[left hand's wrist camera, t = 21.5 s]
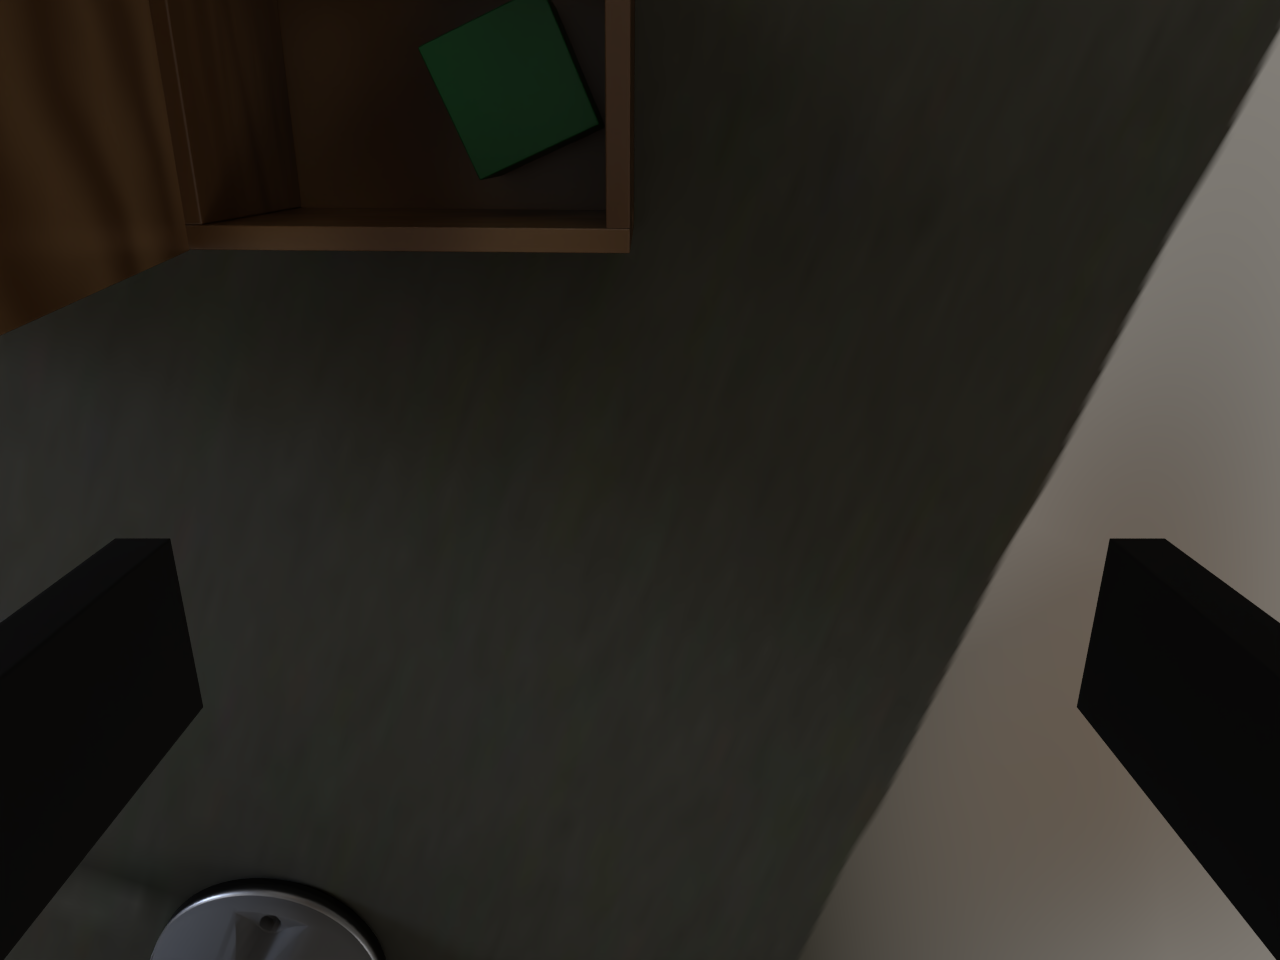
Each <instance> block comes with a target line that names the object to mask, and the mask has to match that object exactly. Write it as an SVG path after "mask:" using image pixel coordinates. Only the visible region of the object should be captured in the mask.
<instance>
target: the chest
mask: <svg viewBox="0 0 1280 960" xmlns="http://www.w3.org/2000/svg"><path fill="white" fill-rule="evenodd" d="M509 1H511V0H149V6H150V12H151V18H152V24H153V30H154V36H155V42H156V48H157V55H158V61H159V67H160V73H161V79H162V85H163V91H164V97H165V103H166V110H167V116H168V122H169V128H170V134H171V140H172V146H173V152H174V158H175V165H176V171H177V177H178V183H179V189H180V195H181V201H182V207H183V213H184V220H185V226H186V232H187V238H188V244H189V249H192V250H312V251H432V252H551V253H629V252H630V247H631V241H632V235H633V229H634V71H635V0H551V1H552V2H553V4H554V5H555V7H556V9H557V12H558V14H559V16H560V19H561V21H562V24H563V26H564V28H565V31H566V33H567V36H568V38H569V40H570V43H571V45H572V48H573V50H574V52H575V55H576V57H577V60H578V62H579V65H580V67H581V69H582V72H583V74H584V77H585V79H586V81H587V84H588V86H589V89H590V91H591V93H592V96H593V98H594V101H595V103H596V105H597V108H598V110H599V113H600V115H601V118H602V120H603V122H604V125H605V127H604V128H602V129H600V130H598V131H596V132H594V133H592V134H590V135H588V136H585V137H583V138H581V139H579V140H577V141H575V142H573V143H570V144H568V145H566V146H564V147H562V148H560V149H558V150H555V151H553V152H551V153H549V154H547V155H545V156H543V157H540V158H538V159H536V160H534V161H532V162H530V163H528V164H526V165H523V166H521V167H519V168H517V169H515V170H513V171H511V172H508V173H506V174H504V175H502V176H498V177H493V178H488V179H483V180H480V179H479V177H478V175H477V173H476V171H475V169H474V167H473V165H472V163H471V160H470V158H469V156H468V154H467V152H466V150H465V148H464V145H463V143H462V141H461V139H460V137H459V135H458V133H457V131H456V128H455V126H454V124H453V122H452V120H451V118H450V116H449V114H448V111H447V109H446V107H445V105H444V103H443V101H442V99H441V96H440V94H439V92H438V90H437V88H436V86H435V84H434V82H433V79H432V77H431V75H430V73H429V71H428V69H427V67H426V64H425V62H424V60H423V58H422V56H421V54H420V52H419V50H418V47H419V46H421V45H423V44H425V43H427V42H429V41H431V40H433V39H435V38H437V37H439V36H441V35H443V34H445V33H447V32H449V31H451V30H453V29H455V28H457V27H459V26H461V25H463V24H465V23H467V22H469V21H471V20H473V19H475V18H477V17H479V16H481V15H483V14H485V13H487V12H489V11H491V10H493V9H495V8H497V7H499V6H501V5H503V4H505V3H507V2H509Z"/></svg>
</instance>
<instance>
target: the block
mask: <svg viewBox="0 0 1280 960" xmlns="http://www.w3.org/2000/svg"><path fill="white" fill-rule="evenodd" d="M418 50H419V52H420V54H421V56H422V58H423V60H424V62H425V64H426V67H427V69H428V71H429V73H430V75H431V77H432V79H433V82H434V84H435V86H436V88H437V90H438V92H439V94H440V96H441V99H442V101H443V103H444V105H445V107H446V109H447V111H448V114H449V116H450V118H451V120H452V122H453V124H454V126H455V128H456V131H457V133H458V135H459V137H460V139H461V141H462V143H463V145H464V148H465V150H466V152H467V154H468V156H469V158H470V160H471V163H472V165H473V167H474V169H475V171H476V173H477V175H478V177H479V179H480V180H483V179H488V178H493V177H498V176H502V175H504V174H506V173H508V172H511V171H513V170H515V169H517V168H519V167H521V166H523V165H526V164H528V163H530V162H532V161H534V160H536V159H538V158H540V157H543V156H545V155H547V154H549V153H551V152H553V151H555V150H558V149H560V148H562V147H564V146H566V145H568V144H570V143H573V142H575V141H577V140H579V139H581V138H583V137H585V136H588V135H590V134H592V133H594V132H596V131H598V130H600V129H602V128H604V127H605V125H604V122H603V120H602V118H601V115H600V113H599V110H598V108H597V105H596V103H595V101H594V98H593V96H592V93H591V91H590V89H589V86H588V84H587V81H586V79H585V77H584V74H583V72H582V69H581V67H580V65H579V62H578V60H577V57H576V55H575V52H574V50H573V48H572V45H571V43H570V40H569V38H568V36H567V33H566V31H565V28H564V26H563V24H562V21H561V19H560V16H559V14H558V12H557V9H556V7H555V5H554V4H553V2H552V1H551V0H511V1H509V2H507V3H505V4H503V5H501V6H499V7H497V8H495V9H493V10H491V11H489V12H487V13H485V14H483V15H481V16H479V17H477V18H475V19H473V20H471V21H469V22H467V23H465V24H463V25H461V26H459V27H457V28H455V29H453V30H451V31H449V32H447V33H445V34H443V35H441V36H439V37H437V38H435V39H433V40H431V41H429V42H427V43H425V44H423V45H421V46H419V47H418Z"/></svg>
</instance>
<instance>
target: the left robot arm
mask: <svg viewBox="0 0 1280 960" xmlns="http://www.w3.org/2000/svg"><path fill="white" fill-rule="evenodd" d="M202 708H203V704H202V699H201V694H200V688H199V683H198V678H197V673H196V668H195V663H194V658H193V653H192V648H191V643H190V637H189V632H188V627H187V622H186V617H185V612H184V607H183V602H182V597H181V592H180V586H179V581H178V576H177V571H176V566H175V561H174V556H173V551H172V546H171V540H170V539H114V540H113V541H111V542H110V543H109V544H107V545H106V546H105V547H103V548H102V549H100V550H99V551H98V552H96V553H95V554H94V555H92V556H91V557H90V558H88V559H87V560H86V561H84V562H83V563H81V564H80V565H79V566H77V567H76V568H75V569H73V570H72V571H71V572H69V573H68V574H66V575H65V576H64V577H62V578H61V579H60V580H58V581H57V582H56V583H54V584H53V585H51V586H50V587H49V588H47V589H46V590H45V591H43V592H42V593H41V594H39V595H38V596H36V597H35V598H34V599H32V600H31V601H30V602H28V603H27V604H26V605H24V606H23V607H21V608H20V609H19V610H17V611H16V612H15V613H13V614H12V615H11V616H9V617H8V618H7V619H5V620H4V621H2V622H1V623H0V960H4V959H5V957H6V956H7V955H8V954H9V952H10V951H11V950H12V948H13V947H14V946H15V945H16V943H17V942H18V941H19V940H20V938H21V937H22V936H23V935H24V933H25V932H26V931H27V929H28V928H29V927H30V926H31V924H32V923H33V922H34V921H35V919H36V918H37V917H38V916H39V914H40V913H41V912H42V910H43V909H44V908H45V907H46V905H47V904H48V903H49V902H50V900H51V899H52V898H53V897H54V895H55V894H56V893H57V891H58V890H59V889H60V888H61V886H62V885H63V884H64V883H65V881H66V880H67V879H68V878H69V876H70V875H71V874H72V872H73V871H74V870H75V869H76V867H77V866H78V865H79V864H80V862H81V861H82V860H83V858H84V857H85V856H86V855H87V853H88V852H89V851H90V850H91V848H92V847H93V846H94V845H95V843H96V842H97V841H98V839H99V838H100V837H101V836H102V834H103V833H104V832H105V831H106V829H107V828H108V827H109V826H110V824H111V823H112V822H113V820H114V819H115V818H116V817H117V815H118V814H119V813H120V812H121V810H122V809H123V808H124V807H125V805H126V804H127V803H128V801H129V800H130V799H131V798H132V796H133V795H134V794H135V793H136V791H137V790H138V789H139V788H140V786H141V785H142V784H143V782H144V781H145V780H146V779H147V777H148V776H149V775H150V774H151V772H152V771H153V770H154V769H155V767H156V766H157V765H158V763H159V762H160V761H161V760H162V758H163V757H164V756H165V755H166V753H167V752H168V751H169V750H170V748H171V747H172V746H173V744H174V743H175V742H176V741H177V739H178V738H179V737H180V736H181V734H182V733H183V732H184V731H185V729H186V728H187V727H188V725H189V724H190V723H191V722H192V720H193V719H194V718H195V717H196V715H197V714H198V713H199V712H200V710H201V709H202ZM1077 708H1078V709H1079V710H1080V712H1081V713H1082V714H1083V715H1084V717H1085V718H1086V719H1087V720H1088V722H1089V723H1090V724H1091V725H1092V727H1093V728H1094V729H1095V731H1096V732H1097V733H1098V734H1099V736H1100V737H1101V738H1102V739H1103V741H1104V742H1105V743H1106V744H1107V746H1108V747H1109V748H1110V750H1111V751H1112V752H1113V753H1114V755H1115V756H1116V757H1117V758H1118V760H1119V761H1120V762H1121V763H1122V765H1123V766H1124V767H1125V769H1126V770H1127V771H1128V772H1129V774H1130V775H1131V776H1132V777H1133V779H1134V780H1135V781H1136V782H1137V784H1138V785H1139V786H1140V787H1141V789H1142V790H1143V791H1144V793H1145V794H1146V795H1147V796H1148V798H1149V799H1150V800H1151V801H1152V803H1153V804H1154V805H1155V807H1156V808H1157V809H1158V810H1159V812H1160V813H1161V814H1162V815H1163V817H1164V818H1165V819H1166V820H1167V822H1168V823H1169V824H1170V826H1171V827H1172V828H1173V829H1174V831H1175V832H1176V833H1177V834H1178V836H1179V837H1180V838H1181V839H1182V841H1183V842H1184V843H1185V845H1186V846H1187V847H1188V848H1189V850H1190V851H1191V852H1192V853H1193V855H1194V856H1195V857H1196V858H1197V860H1198V861H1199V862H1200V864H1201V865H1202V866H1203V867H1204V869H1205V870H1206V871H1207V872H1208V874H1209V875H1210V876H1211V878H1212V879H1213V880H1214V881H1215V882H1216V884H1217V885H1218V886H1219V888H1220V889H1221V890H1222V891H1223V893H1224V894H1225V895H1226V897H1227V898H1228V899H1229V900H1230V902H1231V903H1232V904H1233V905H1234V907H1235V908H1236V909H1237V910H1238V912H1239V913H1240V914H1241V916H1242V917H1243V918H1244V919H1245V920H1246V922H1247V923H1248V924H1249V926H1250V927H1251V928H1252V929H1253V931H1254V932H1255V933H1256V935H1257V936H1258V937H1259V938H1260V940H1261V941H1262V942H1263V943H1264V945H1265V946H1266V947H1267V948H1268V950H1269V951H1270V952H1271V953H1272V955H1273V956H1274V957H1275V959H1276V960H1280V623H1279V622H1278V621H1276V620H1275V619H1273V618H1272V617H1271V616H1269V615H1268V614H1267V613H1265V612H1264V611H1263V610H1261V609H1260V608H1259V607H1257V606H1256V605H1254V604H1253V603H1252V602H1250V601H1249V600H1248V599H1246V598H1245V597H1244V596H1242V595H1241V594H1239V593H1238V592H1237V591H1235V590H1234V589H1233V588H1231V587H1230V586H1229V585H1227V584H1226V583H1224V582H1223V581H1222V580H1220V579H1219V578H1218V577H1216V576H1215V575H1214V574H1212V573H1211V572H1209V571H1208V570H1207V569H1205V568H1204V567H1203V566H1201V565H1200V564H1199V563H1197V562H1196V561H1194V560H1193V559H1192V558H1190V557H1189V556H1188V555H1186V554H1185V553H1184V552H1182V551H1181V550H1180V549H1178V548H1177V547H1175V546H1174V545H1173V544H1171V543H1170V542H1169V541H1167V540H1166V539H1110V540H1109V546H1108V551H1107V556H1106V561H1105V566H1104V571H1103V576H1102V582H1101V586H1100V591H1099V597H1098V602H1097V607H1096V612H1095V617H1094V622H1093V627H1092V632H1091V638H1090V643H1089V648H1088V653H1087V658H1086V663H1085V668H1084V673H1083V678H1082V684H1081V689H1080V694H1079V699H1078V704H1077ZM150 960H385V956H384V953H383V950H382V948H381V945H380V943H379V942H378V940H377V938H376V936H375V935H374V933H373V932H372V930H371V929H370V928H369V927H368V926H367V924H366V923H365V922H364V921H363V920H362V919H361V918H360V917H359V916H358V915H357V914H356V913H354V912H353V911H352V910H351V909H350V908H348V907H347V906H345V905H344V904H342V903H341V902H339V901H338V900H336V899H334V898H333V897H331V896H329V895H327V894H325V893H323V892H320V891H318V890H315V889H313V888H310V887H307V886H304V885H301V884H297V883H293V882H289V881H283V880H277V879H265V878H251V879H239V880H233V881H228V882H224V883H220V884H217V885H214V886H211V887H209V888H207V889H204V890H202V891H200V892H199V893H197V894H195V895H193V896H192V897H191V898H189V899H188V900H187V901H185V902H184V903H183V904H182V905H181V906H180V907H179V908H178V909H177V910H176V912H175V913H174V914H173V916H172V917H171V919H170V920H169V922H168V924H167V925H166V927H165V929H164V930H163V932H162V933H161V935H160V937H159V938H158V941H157V943H156V945H155V948H154V951H153V953H152V955H151V958H150Z"/></svg>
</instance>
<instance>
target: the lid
mask: <svg viewBox="0 0 1280 960" xmlns="http://www.w3.org/2000/svg"><path fill="white" fill-rule="evenodd" d="M187 251H189V244H188V238H187V232H186V226H185V220H184V213H183V207H182V201H181V195H180V189H179V183H178V177H177V171H176V165H175V158H174V152H173V146H172V140H171V134H170V128H169V122H168V116H167V110H166V103H165V97H164V91H163V85H162V79H161V73H160V67H159V61H158V55H157V48H156V42H155V36H154V30H153V24H152V18H151V12H150V6H149V0H0V335H2V334H5V333H7V332H9V331H11V330H14V329H16V328H18V327H20V326H22V325H25V324H27V323H29V322H31V321H34V320H36V319H38V318H40V317H42V316H45V315H47V314H49V313H51V312H54V311H56V310H58V309H60V308H62V307H65V306H67V305H69V304H71V303H73V302H76V301H78V300H80V299H82V298H85V297H87V296H89V295H91V294H93V293H96V292H98V291H100V290H102V289H105V288H107V287H109V286H111V285H113V284H116V283H118V282H120V281H122V280H125V279H127V278H129V277H131V276H133V275H136V274H138V273H140V272H142V271H145V270H147V269H149V268H151V267H153V266H156V265H158V264H160V263H162V262H165V261H167V260H169V259H171V258H173V257H176V256H178V255H180V254H182V253H184V252H187Z"/></svg>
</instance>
